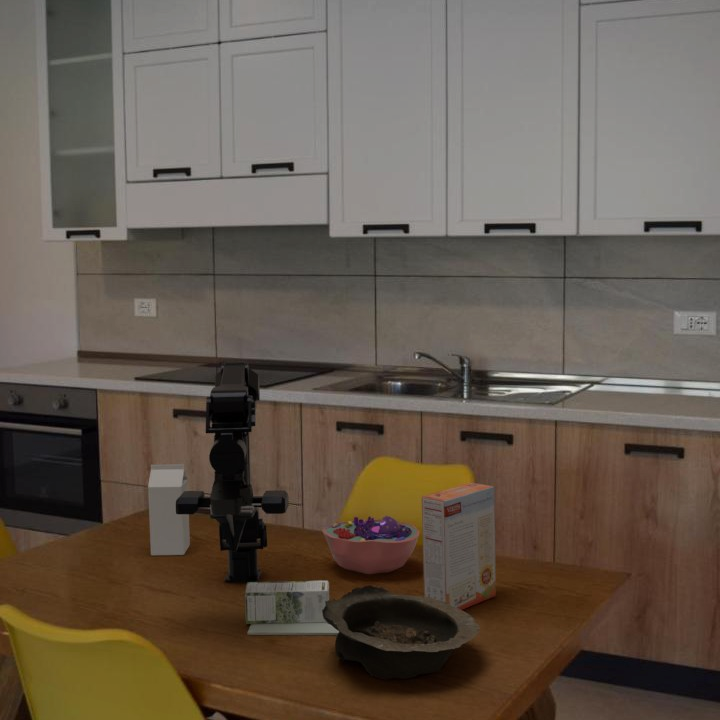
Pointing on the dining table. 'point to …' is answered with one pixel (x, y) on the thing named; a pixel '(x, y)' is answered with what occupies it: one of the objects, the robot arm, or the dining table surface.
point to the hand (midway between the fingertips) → (234, 551)
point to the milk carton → (167, 510)
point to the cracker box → (459, 545)
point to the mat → (292, 629)
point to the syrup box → (286, 602)
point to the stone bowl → (397, 631)
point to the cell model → (371, 544)
